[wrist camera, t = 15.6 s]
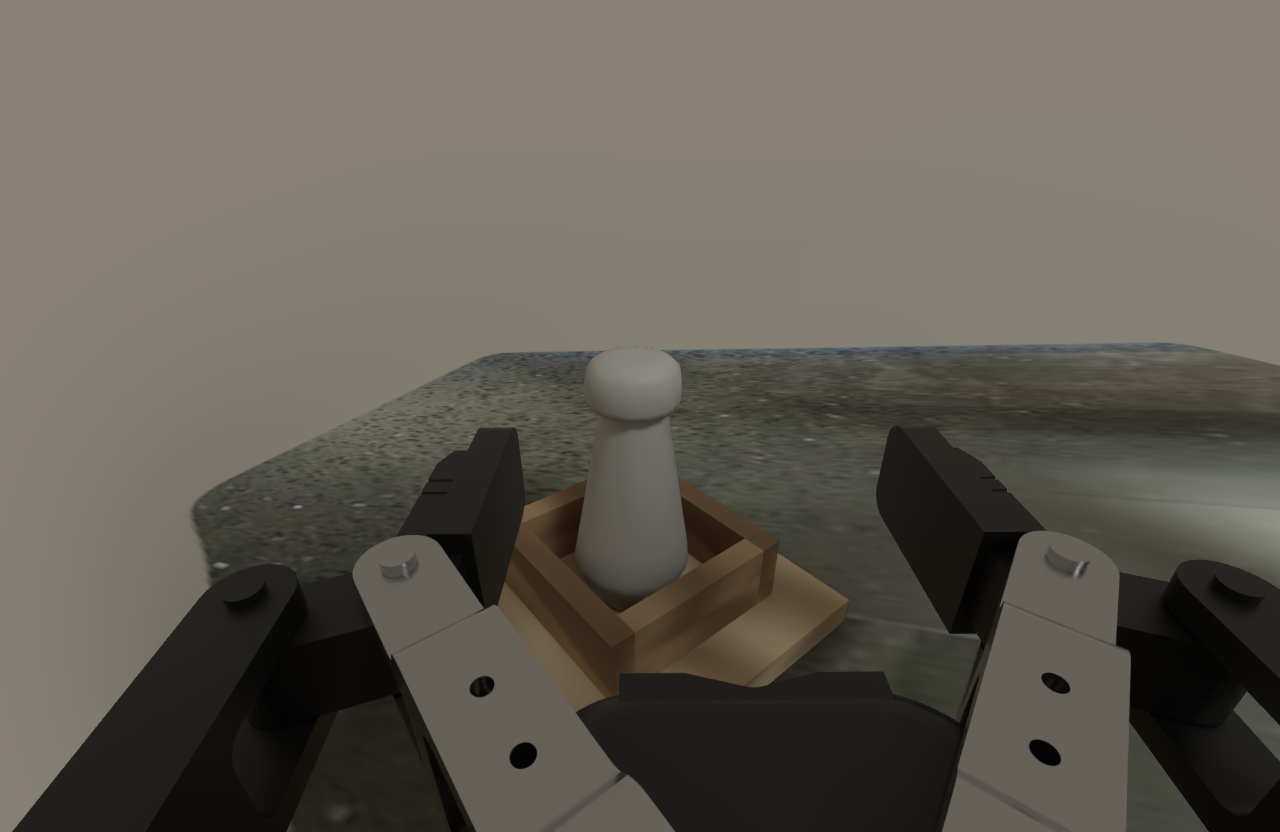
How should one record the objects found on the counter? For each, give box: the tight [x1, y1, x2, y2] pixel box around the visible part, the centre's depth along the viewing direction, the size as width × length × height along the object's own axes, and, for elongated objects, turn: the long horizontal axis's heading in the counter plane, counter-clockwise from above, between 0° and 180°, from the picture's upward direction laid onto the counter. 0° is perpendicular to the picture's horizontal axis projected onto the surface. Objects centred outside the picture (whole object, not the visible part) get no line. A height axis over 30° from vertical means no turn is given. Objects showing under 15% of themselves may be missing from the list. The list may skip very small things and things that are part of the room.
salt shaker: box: [574, 346, 688, 612], centre depth 28 cm, size 6×6×13 cm
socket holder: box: [498, 477, 849, 712], centre depth 31 cm, size 16×16×5 cm
